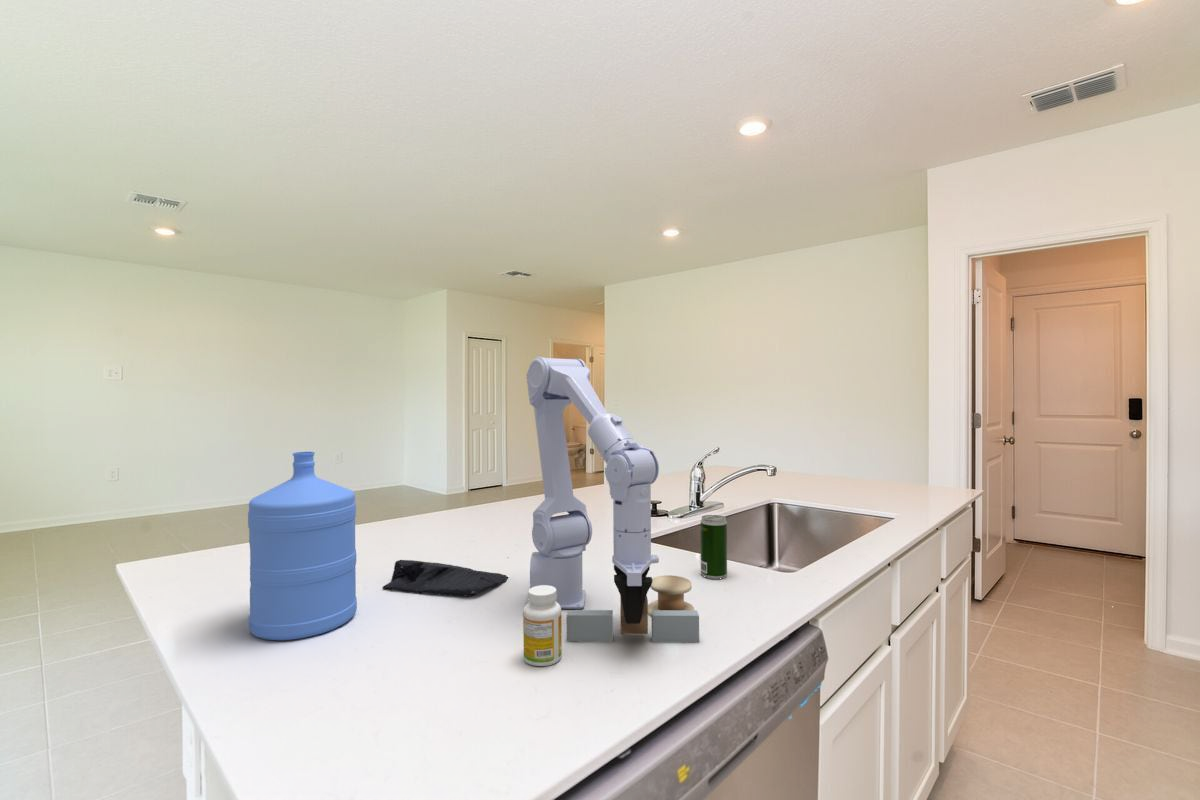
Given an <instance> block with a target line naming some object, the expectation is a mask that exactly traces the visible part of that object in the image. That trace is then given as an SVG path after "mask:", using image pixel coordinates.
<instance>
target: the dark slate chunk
mask: <svg viewBox="0 0 1200 800" xmlns="http://www.w3.org/2000/svg"><path fill="white" fill-rule="evenodd" d="M508 579H509V577H508V576H507V575H506V574H502V573H500V572H489V571H482V570H476V569H472V568H470V567H469V568H468V567H463V566H459V565H453V564H446V563H440V562H431V561H422V560H421V561H420V560H413V559H412V560H411V559H399V560H396V561H395V562H394V567H393V572H392V576H391V579H390V582H389V583H386V584H385V585H383V586H382V588H383V589H384V590H387V591H400V592H404V593H413V594H417V593H418V594H432V595H440V596H444V595H445V596H453V597H465V596H466V597H471V596H475V595H477V594H479V593H481V592H483V591H486V590H488V589H491V588H493V587H496V586H499V585H501V584H504V583H506V582H507V580H508Z"/></svg>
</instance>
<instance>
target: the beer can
mask: <svg viewBox="0 0 1200 800" xmlns="http://www.w3.org/2000/svg"><path fill="white" fill-rule="evenodd" d="M700 574H701V575H703V576H705V577H707V578H706V579H708V578H712V579H711V580H721V579H720V578H723V579H725V578H726V577H727V574H728V522H727V519H726V517H725V516H724V515H719V514H705V515H702V516H701V520H700ZM703 576H702V577H703ZM725 576H726V577H725ZM705 577H704V578H705ZM724 577H725V578H724Z"/></svg>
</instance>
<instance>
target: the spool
mask: <svg viewBox="0 0 1200 800" xmlns="http://www.w3.org/2000/svg"><path fill="white" fill-rule="evenodd" d="M692 586H693V585H692V581H691V580H690V579H688V578H687V577H683V576H679V575H667V574H666V575H658V576H655V577H652V584H651V587H650V589H651V590H652V591H654V592H656V593H657V599H655V600H653V601H651V602H649V603H648V617H650V618H652V610H696V609H695V607H694V605H692V604H691V603H690V602H687V601H685V599H684V598H685V595H684V594H687V593H688V592H690V591H691V590H692Z"/></svg>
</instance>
